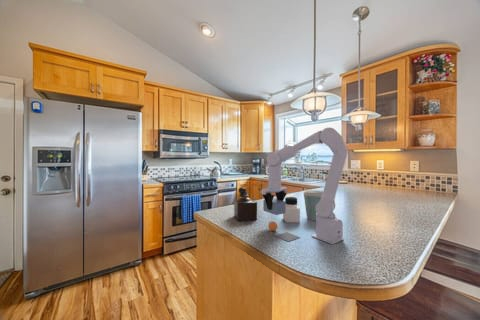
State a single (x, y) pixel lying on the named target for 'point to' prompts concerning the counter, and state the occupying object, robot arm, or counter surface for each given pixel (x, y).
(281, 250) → the counter surface
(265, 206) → the blue-gray rectangular block
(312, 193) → the disposable coffee cup
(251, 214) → the dark brown boxy bottle
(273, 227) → the ball
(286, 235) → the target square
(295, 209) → the medicine bottle
